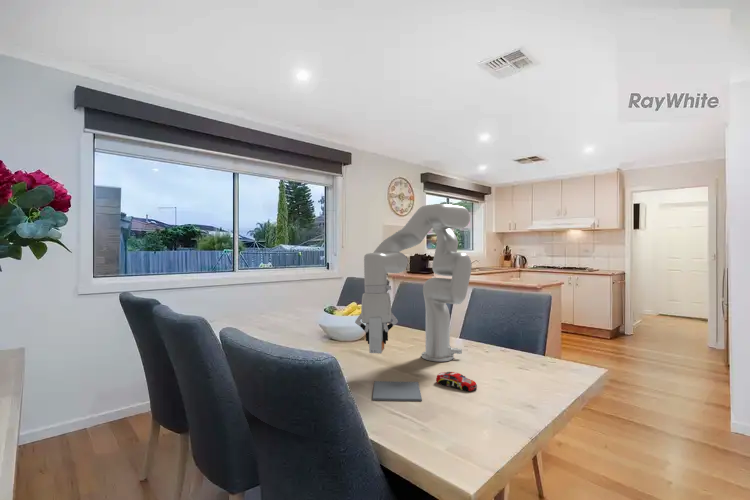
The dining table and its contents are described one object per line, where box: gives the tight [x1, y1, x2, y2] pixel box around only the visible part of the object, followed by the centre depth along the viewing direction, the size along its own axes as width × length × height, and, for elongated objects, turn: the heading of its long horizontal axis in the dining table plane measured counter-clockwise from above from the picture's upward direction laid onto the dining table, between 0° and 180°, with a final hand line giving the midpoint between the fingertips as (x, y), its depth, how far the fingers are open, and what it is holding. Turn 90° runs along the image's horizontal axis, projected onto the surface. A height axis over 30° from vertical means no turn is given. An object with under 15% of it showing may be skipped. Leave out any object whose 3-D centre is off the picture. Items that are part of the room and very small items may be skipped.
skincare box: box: [368, 317, 385, 354], centre depth 130 cm, size 6×4×12 cm
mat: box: [372, 380, 423, 402], centre depth 116 cm, size 14×14×1 cm
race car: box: [435, 371, 478, 392], centre depth 121 cm, size 13×5×4 cm, turn 50°
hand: (377, 342), depth 130 cm, fingers closed on skincare box, 4 cm apart
